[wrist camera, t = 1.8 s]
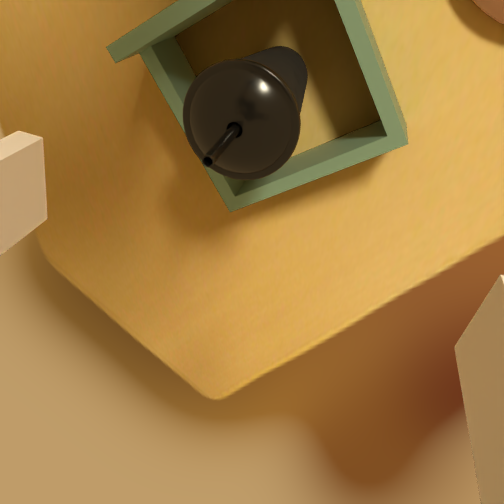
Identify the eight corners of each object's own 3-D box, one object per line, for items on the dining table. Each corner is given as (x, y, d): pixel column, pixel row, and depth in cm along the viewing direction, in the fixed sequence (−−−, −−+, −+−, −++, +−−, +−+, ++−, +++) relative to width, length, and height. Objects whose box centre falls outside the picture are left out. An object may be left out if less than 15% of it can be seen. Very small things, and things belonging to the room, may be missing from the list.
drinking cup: (268, 135, 44) (197, 246, 28) (220, 62, 42) (111, 136, 25) (341, 91, 40) (308, 187, 24) (293, 7, 38) (220, 52, 22)
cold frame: (156, 29, 41) (106, 47, 34) (330, -81, 34) (314, -89, 27) (243, 189, 48) (217, 233, 40) (406, 124, 41) (410, 163, 33)
